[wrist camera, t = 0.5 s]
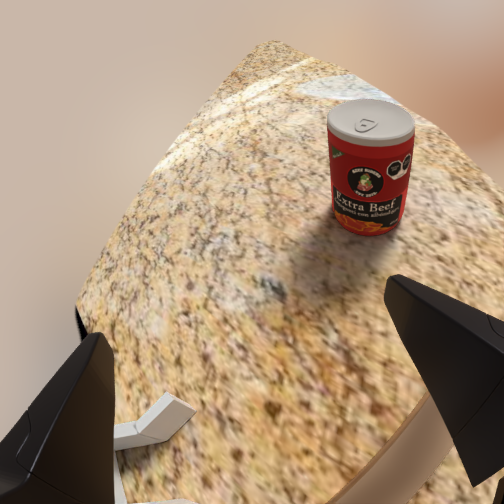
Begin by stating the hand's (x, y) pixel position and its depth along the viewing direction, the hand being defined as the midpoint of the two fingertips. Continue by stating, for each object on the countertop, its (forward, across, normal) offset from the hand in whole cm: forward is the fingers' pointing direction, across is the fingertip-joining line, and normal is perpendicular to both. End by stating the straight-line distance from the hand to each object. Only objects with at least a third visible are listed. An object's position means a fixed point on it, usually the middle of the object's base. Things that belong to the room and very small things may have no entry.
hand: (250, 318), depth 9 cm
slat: (-3, -7, +16) cm, 18 cm away
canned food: (+20, -15, +7) cm, 26 cm away
